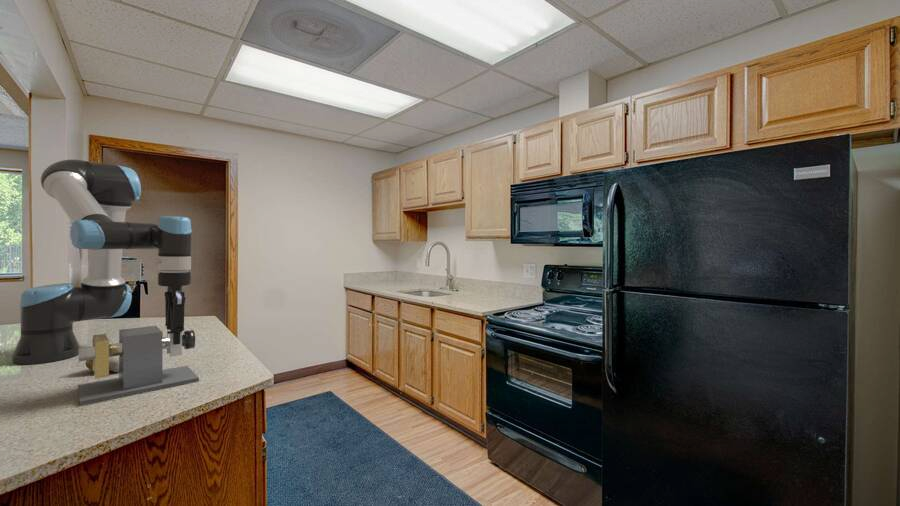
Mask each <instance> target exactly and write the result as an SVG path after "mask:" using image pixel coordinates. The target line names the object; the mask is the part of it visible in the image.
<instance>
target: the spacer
mask: <svg viewBox="0 0 900 506" xmlns="http://www.w3.org/2000/svg"><path fill="white" fill-rule="evenodd" d="M109 344H110V340H109V338H108V336H107V334H106V333H100V334H93V335H92V347H93V346H94V348H95V359H93V376H94V379H101V378H108V377H109V376H110V371H109Z"/></svg>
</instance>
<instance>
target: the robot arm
mask: <svg viewBox="0 0 900 506" xmlns="http://www.w3.org/2000/svg"><path fill="white" fill-rule="evenodd" d="M40 183H41V187H42V189H43V190H44V191H45V193H46V194H47V195H48V196H49V197H51V198H53V199H55V200H56V201H57V203H58V204H59V205H60V207H61V208H62V210H63V211H64V213H65V215H67V217H68V218H69V220H70V221H71V222H72V224H71V226H70V230H69V231H70V233H69V237H70V240H71V244H72V246H73V247H74V248H76V249H79V250H88V253H89V254H88V267H87V268H88V269H87V276H86V277H84V278H83V279H81V281H80V286H75V287H74V285H73V284H72V283H55V284H54V283H53V284H46V285H41V286H36V287H35V286H34V287H31V288H27V289H26V290H24V291H23V292H22V293H21V295H20V301H19V302H20V303H19V307H20V337H19V340H18V342H17V344H16V346H15V349H14V350H13V353H12V358H11V360H12V363H13V364H16V365H35V364H43V363H44V364H45V363H46V364H47V363H50V362H56V361H61V360H67V359H70V358H73V357H76V356H77V355H78V356H79V348H81V346H80V344H79V341H78V339H77V337H76V335H75V333H74V330H73V328H74V327H73V326H74V322H75V323H76V322H85V321H91V320H92V321H93V320H100V319H110V318H114V317H121V316H123V315H124V314H125V313H127V312H128V310H129V309H130V306H131V304H132V300H133V299H132V298H133V295H132V288H131V286H130V285H129V284H126V280H125V279H124V278H123V277H122V276H121V272H122V261H123V250H157V251H158V253H157V256H158V257H157V258H158V259H156V260H155V263H156V264H158V270H159V271H160V272H159V273H157V284H158V286H160V287H167V291H165V292H164V300H165V301H164V302H165V303H164V304H165V307H164V309H165V316H164V317H165V323H164V324H165V328H166V337H170V348H167V349H166V354H168V355H169V357H177V356H182V355H183V346H182V335H183V332H184V331H185V304H186V296H185V292H184V291H183V286H189V285H191V283H192V282H191V281H192V280H191V279H192V278H191V277H192V273H191V272H190V271H191V269H192V255H191V254H192V232H193V230H192V226H191V225H192V222H191V218H189V217H187V216H173V215H172V216H170V215H165V216H164V215H163V216H160V217H159V218H158V220H157V221H158V223H156V222H155V223H153V222H152V223H149V222H128V221H127V222H126V213H127V211H128V210H129V209H131V208H132V207H133V202H134V203H135V202H138V200H139V199H140V198H141V195H142V186H141V181H140V178H139V176H138V174H137V172H136V171H135V170H133V169H132V168H131V167H126V166H121V165H118V164H109V163H103V162H94V161H87V160H83V159H82V160H81V159H63V160H60V161H57V162H54V163H52V164H49V166H47V167H46V168H45V169H44V170H43V172H42V173H41V175H40Z"/></svg>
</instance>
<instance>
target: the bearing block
mask: <svg viewBox="0 0 900 506" xmlns="http://www.w3.org/2000/svg"><path fill="white" fill-rule="evenodd" d="M163 337H164V336H163V331H162V330H161V329H160V327H158V325H149V326H140V327H131V328H122V329H119V330H118V343H122V355H119V373H118V378H119V381H120V383H121V386H122V388H123V390H128V389H133V388H138V387H143V386H148V385H153V384H158V383H162V370H163V350H164V349H163Z"/></svg>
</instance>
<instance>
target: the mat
mask: <svg viewBox="0 0 900 506" xmlns="http://www.w3.org/2000/svg"><path fill="white" fill-rule="evenodd" d="M197 382H200V377H199V376H198V375H197V374H196V373H195V372H194V371H193V370H192V369H191V367H190V366H188V365H182V366H176V367H172V368H171V367H170V368H168V369H167V368H164V369H162V383H158V384H153V385H148V386H143V387H138V388H133V389H128V390H123V388H122V386H121V383H120V381H119V377H115V378H111V379H110V378H109V379H104V380H98V381H93V382H88V383H82V384H77V391H78V400H79V406H86V405H91V404H95V403H101V402H105V401H110V400H115V399H119V398H124V397H129V396H133V395H139V394H143V393H149V392H153V391H158V390H163V389H168V388H173V387H177V386H182V385H187V384H192V383H193V384H194V383H197Z"/></svg>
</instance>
